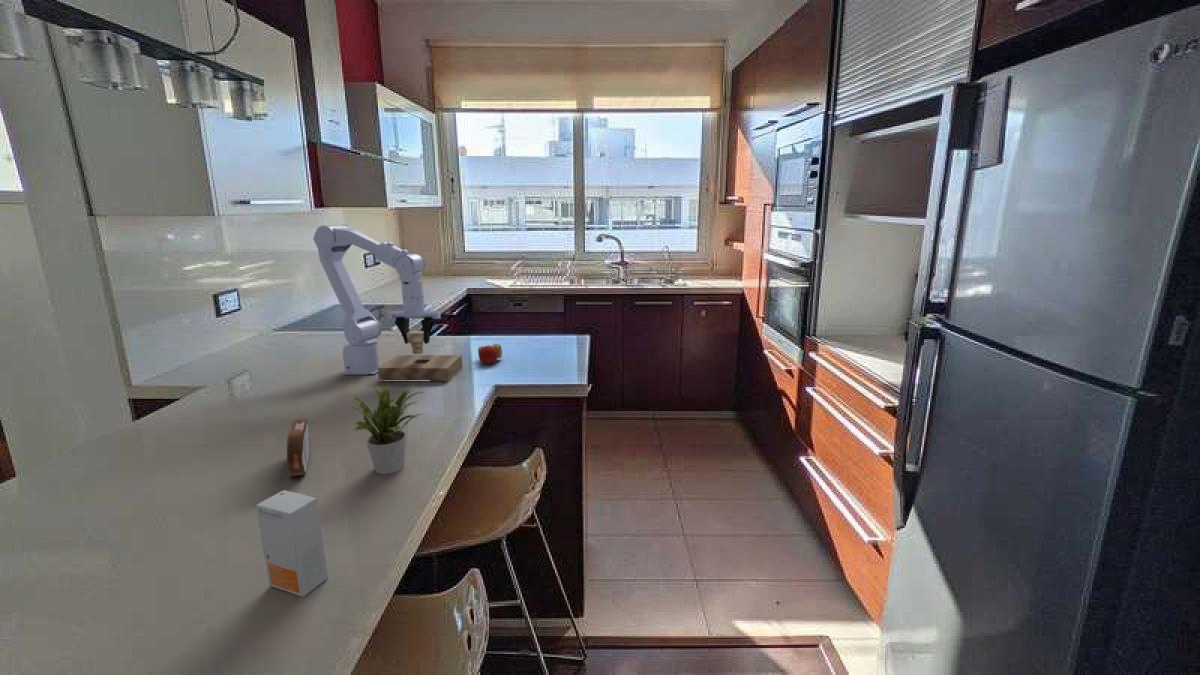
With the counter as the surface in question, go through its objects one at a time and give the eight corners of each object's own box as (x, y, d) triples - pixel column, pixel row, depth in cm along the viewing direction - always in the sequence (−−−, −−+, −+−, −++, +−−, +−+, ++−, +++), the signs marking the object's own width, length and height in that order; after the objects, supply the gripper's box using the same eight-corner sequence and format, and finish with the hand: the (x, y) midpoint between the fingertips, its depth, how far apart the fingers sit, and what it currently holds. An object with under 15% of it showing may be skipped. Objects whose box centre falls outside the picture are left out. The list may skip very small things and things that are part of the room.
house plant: (447, 468, 103) (441, 386, 99) (375, 495, 93) (365, 406, 90) (412, 446, 113) (405, 370, 109) (343, 468, 103) (332, 386, 99)
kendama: (482, 356, 187) (472, 363, 169) (485, 338, 187) (475, 343, 169) (505, 359, 188) (497, 367, 170) (507, 341, 187) (500, 347, 169)
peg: (405, 354, 157) (403, 334, 155) (413, 350, 162) (411, 330, 161) (422, 355, 156) (421, 334, 155) (429, 350, 161) (428, 331, 160)
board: (379, 381, 155) (377, 368, 155) (398, 367, 169) (397, 355, 168) (448, 381, 155) (447, 368, 154) (462, 367, 168) (461, 355, 167)
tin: (297, 452, 111) (291, 413, 109) (314, 449, 112) (308, 410, 110) (288, 485, 97) (281, 441, 95) (308, 482, 98) (301, 438, 97)
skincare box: (268, 587, 71) (253, 504, 68) (296, 567, 75) (283, 488, 72) (302, 599, 69) (289, 513, 66) (330, 578, 73) (318, 496, 70)
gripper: (382, 298, 152) (386, 346, 155) (433, 298, 151) (437, 346, 154) (392, 295, 159) (397, 340, 162) (441, 294, 158) (445, 340, 161)
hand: (417, 342), depth 159 cm, fingers closed on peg, 5 cm apart
